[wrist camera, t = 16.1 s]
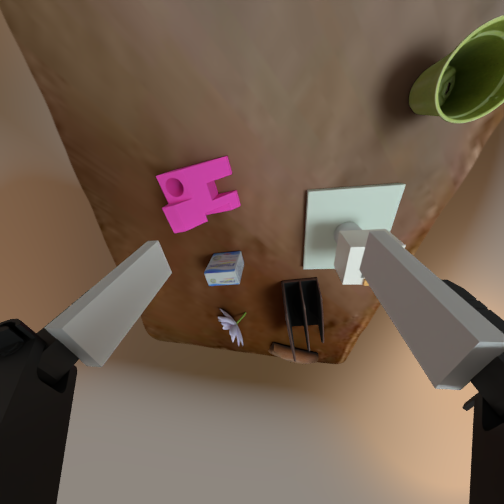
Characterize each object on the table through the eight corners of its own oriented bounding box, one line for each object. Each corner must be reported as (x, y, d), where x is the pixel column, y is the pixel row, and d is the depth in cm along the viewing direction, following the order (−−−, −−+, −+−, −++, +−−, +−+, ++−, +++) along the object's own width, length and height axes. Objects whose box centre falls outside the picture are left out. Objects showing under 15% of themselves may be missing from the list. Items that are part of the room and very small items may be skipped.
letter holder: (289, 323, 63) (292, 366, 51) (281, 280, 53) (283, 321, 41) (319, 321, 61) (330, 366, 49) (316, 276, 51) (330, 318, 39)
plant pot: (405, 55, 27) (454, 25, 20) (481, 39, 26) (563, 1, 18) (389, 130, 32) (423, 128, 25) (452, 120, 30) (508, 116, 23)
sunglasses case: (266, 352, 74) (269, 363, 67) (271, 336, 73) (274, 345, 67) (309, 362, 74) (315, 374, 68) (313, 346, 74) (320, 356, 68)
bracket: (193, 214, 44) (174, 233, 36) (175, 169, 39) (147, 178, 31) (240, 204, 42) (232, 222, 33) (227, 155, 37) (213, 161, 28)
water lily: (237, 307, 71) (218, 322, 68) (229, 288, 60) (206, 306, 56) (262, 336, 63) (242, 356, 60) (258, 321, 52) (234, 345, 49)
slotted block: (339, 230, 34) (351, 248, 29) (385, 228, 33) (407, 247, 28) (333, 265, 39) (343, 286, 33) (374, 264, 37) (391, 286, 32)
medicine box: (241, 250, 48) (235, 270, 41) (244, 263, 51) (239, 285, 44) (213, 253, 50) (203, 273, 43) (217, 266, 52) (208, 287, 45)
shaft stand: (307, 189, 39) (323, 216, 26) (401, 182, 36) (469, 207, 23) (302, 265, 49) (313, 310, 37) (375, 264, 47) (412, 311, 34)
